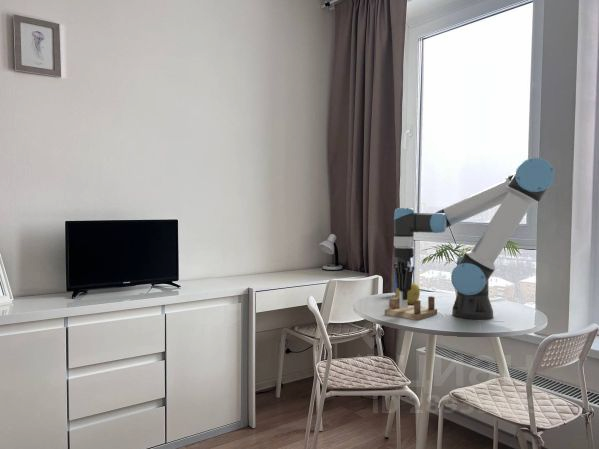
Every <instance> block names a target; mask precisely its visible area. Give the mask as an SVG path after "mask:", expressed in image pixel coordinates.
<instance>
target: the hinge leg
mask: <svg viewBox="0 0 599 449" xmlns="http://www.w3.org/2000/svg"><path fill="white" fill-rule="evenodd" d="M388 300H389V306H388V307H389V308H398V307H400V296H399V297H397V296H395V297H391V298H389V299H388ZM389 308H388V309H389Z"/></svg>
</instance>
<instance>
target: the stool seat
mask: <svg viewBox="0 0 599 449" xmlns="http://www.w3.org/2000/svg"><path fill="white" fill-rule="evenodd" d="M427 298H428V300H427V303H428V304H427V307H425V306H424V307H423V306H422V305H421V300H419V299H418V300H414V303H413V305H412V304H408V308H400V307H398V308H385V309H384V315H385V316H393V317H397V318H404V319H410V320H411V319H412V320H416V321H421V320H424V319H426V318H429V317H433V316H436V315H437V314H438V308H435V298H436V297H435V296H434V295H433V296H432V295H431V296H429V295H428V297H427Z"/></svg>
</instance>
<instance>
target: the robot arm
mask: <svg viewBox="0 0 599 449" xmlns="http://www.w3.org/2000/svg"><path fill="white" fill-rule="evenodd" d="M555 174H556V172H555V169H554V167H553V164H551V162H549V161H547V160H546V159H544V158H541V157H531V158H530V157H529V158H527V159H525V160H523V161H522V162H521V163H519V165H518V166H517V168H516V171H515V172H513V173H512V174H509V175H508V176H506V178H505V180H503V181H502V182H499V183H497V184H494V185H492V186H489V187H488V188H486V189H484V190H482V191H479V192H477V193H475V194H472V195H471V196H468V197H466V198H464V199H462V200H460V201H457V202H456V203H453V204H451V205H449V206H446V207H445V208H442V209H440V210H438V211H436V212H415V210H414V208H413V207H397V208H395V210H394V212H393V214H394V215H393V233H394V234H393V246H394V248H393V257H394V258H397V259H396V263H393V267H394V277H395V276H396V286H397V288H399V290H400V308H408V305H409V304H408V291H409V290H411V284H412V283H413V275H414V274H413V273H414V271H415V267H414V266H412V262H411V259H412V258H414V252H415V250H414V248H413V247H414V241H415V239H414V236H415V235H414V234H415V233H426V234H427V233H429V234H431V233H433V234H439V233H440V234H441V233H443V234H444V232H446V231H447V230H446V229H448V228H449V227H452V226H454V225H456V224H459V223H461V222H463V221H466V220H468V219H470V218H472V217H474V216H477V215H478V214H481V213H483V212H486V211H488V210H490V209H493V208H495V207H497V206H498V208H497V210H496V212H495V213H494V215H493V216H492V218H491V220H490V222H488V224H487V226H486V227H485V229H484V231H483V232H482V234H481V235H480V237H479V239H478V240H477V242H476V244H475V245H474V246H473V248H472V250H469V251H466V252H464V254H463V255H462V256H459V257H458V258H457V261H456V267H454V268H453V269H452V271H451V275H450V277H451V279H450V280H451V285H452V286H453V287H454V289H455V291H456V297H455V300H454V304H453V306H452V316H455V317H458V318H463V319H470V320H488V319H493V318H494V309H493V306H492V304H491V301H490V297H489V280H490V278H491V276H492V275H493V273H494V272H495V270H496V267H495V262H496V260H497V259H498V257H499V255H500V254H501V253H502V251H503V249H504V248H505V247H506V245H507V243H508V242H509V240H510V238H511V237H512V235H513V234H514V232H515V231H516V229H517V228H518V226H519V224H520V223H521V222H522V221H523V218H524V217H525V215H526V214H527V212H528V211H529V210H530V207H531V206H532V205H533V206H534V205H536V204H538V203H540V202H541V199H542V198H543V196H544V195H545V193H546V192H547V190H548V189H549V187H550V186H551V185H552V184H553V183H554V181H555Z"/></svg>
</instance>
